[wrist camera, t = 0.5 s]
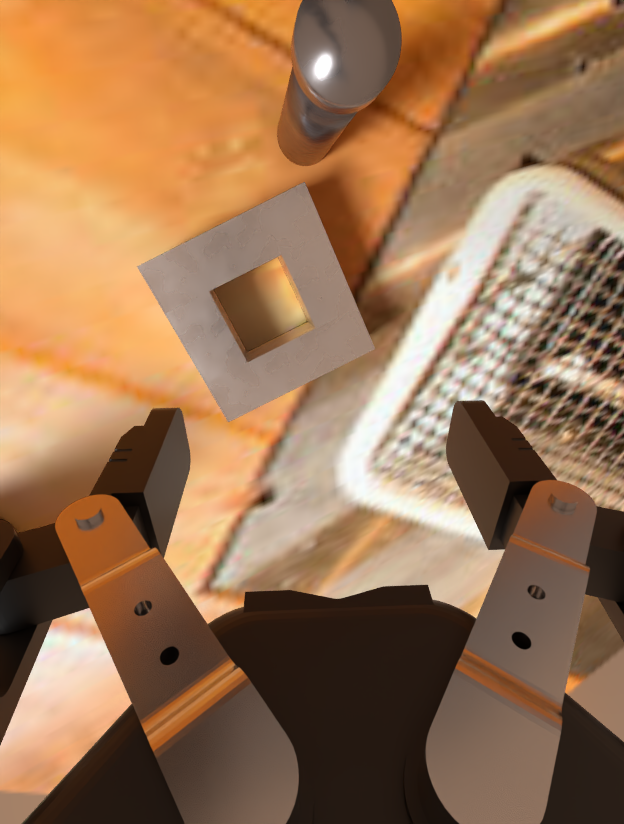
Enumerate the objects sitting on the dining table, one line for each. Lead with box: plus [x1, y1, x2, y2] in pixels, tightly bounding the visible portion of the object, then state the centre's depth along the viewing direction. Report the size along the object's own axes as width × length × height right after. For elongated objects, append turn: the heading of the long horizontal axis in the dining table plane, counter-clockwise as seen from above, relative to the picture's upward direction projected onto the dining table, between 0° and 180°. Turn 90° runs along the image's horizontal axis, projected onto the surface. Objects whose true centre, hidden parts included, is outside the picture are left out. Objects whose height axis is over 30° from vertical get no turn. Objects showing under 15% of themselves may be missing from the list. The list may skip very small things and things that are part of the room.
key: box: [277, 0, 401, 166], centre depth 24 cm, size 4×4×14 cm
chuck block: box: [137, 182, 375, 422], centre depth 32 cm, size 12×12×4 cm
